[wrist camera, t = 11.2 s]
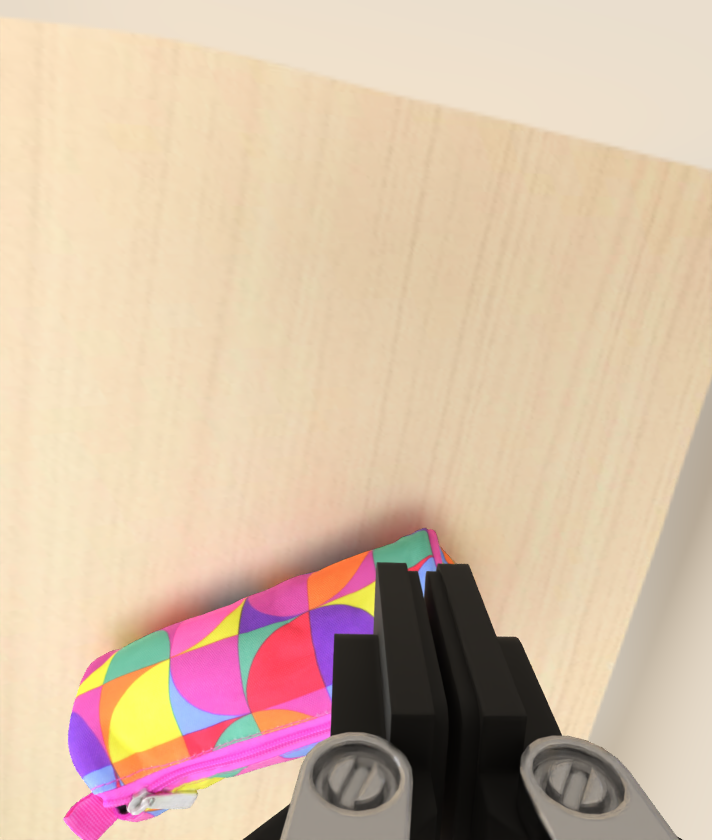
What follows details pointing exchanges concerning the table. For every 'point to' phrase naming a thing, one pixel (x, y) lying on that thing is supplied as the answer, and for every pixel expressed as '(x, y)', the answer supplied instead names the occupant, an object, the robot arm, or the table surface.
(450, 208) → the table surface
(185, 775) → the pencil case
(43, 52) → the table surface
